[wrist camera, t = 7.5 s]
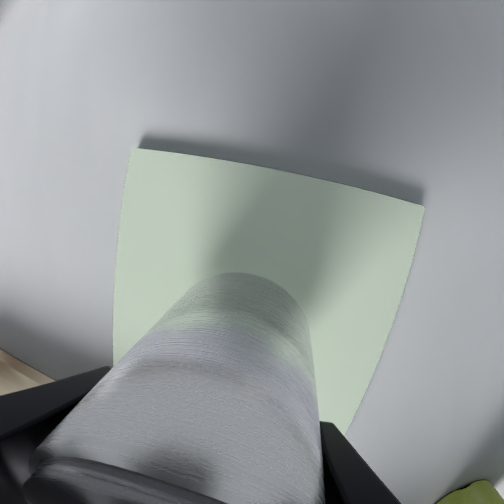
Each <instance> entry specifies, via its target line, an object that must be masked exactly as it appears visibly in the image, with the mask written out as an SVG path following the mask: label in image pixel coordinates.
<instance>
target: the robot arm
mask: <svg viewBox="0 0 504 504" xmlns="http://www.w3.org/2000/svg"><path fill="white" fill-rule="evenodd" d="M111 369H112V367H109V366H105V367H102V368H99V369H95V370H92V371H89V372H85V373H82V374H79V375H75V376H72V377H68V378H65V379H61V380H58V381H54V382H50V383H47V384H43V385H39V386H36V387H32V388H28V389H24V390H20V391H16V392H12V393H8V394H4V395H0V504H27V502H26V500H25V497H24V495H23V485H24V483H25V482H26V480H27V479H28V478H29V477H30V473H29V469H28V461H29V458H30V455H31V454H32V453H33V452H34V451H35V449H36V448H37V447H38V446H39V445H40V444H41V443H42V442H43V441H44V440H45V439H46V438H47V436H48V435H49V434H50V433H51V432H52V431H53V430H54V429H55V428H56V427H57V426H58V425H59V424H60V423H61V421H62V420H63V419H64V418H65V417H66V416H67V415H68V414H69V413H70V412H71V411H72V410H73V409H74V408H75V407H76V406H77V404H78V403H79V402H80V401H81V400H82V399H83V398H84V397H85V396H86V395H87V394H88V393H89V392H90V391H91V390H92V389H93V388H94V387H95V386H96V384H97V383H98V382H99V381H100V380H101V379H102V378H103V377H104V376H105V375H106V374H107V373H108V372H109V371H110V370H111ZM320 433H321V446H322V459H323V474H324V490H325V504H401V503H400V502H399V500H398V499H397V498H396V497H395V496H394V495H393V494H392V492H391V491H390V490H389V489H388V488H387V487H386V486H385V484H384V483H383V482H382V481H381V480H380V479H379V477H378V476H377V475H376V474H375V473H374V472H373V470H372V469H371V468H370V467H369V466H368V464H367V463H366V462H365V461H364V460H363V458H362V457H361V456H360V455H359V454H358V452H357V451H356V450H355V449H354V448H353V446H352V445H351V444H350V443H349V442H348V440H347V439H346V438H345V437H344V435H343V434H342V433H341V432H340V431H339V429H338V428H337V427H336V426H335V424H333V423H332V422H325V421H320Z"/></svg>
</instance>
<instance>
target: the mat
mask: <svg viewBox="0 0 504 504" xmlns="http://www.w3.org/2000/svg"><path fill="white" fill-rule="evenodd" d="M424 211H425V207H424V206H421V205H418V204H414V203H411V202H407V201H404V200H400V199H397V198H393V197H390V196H386V195H383V194H379V193H375V192H371V191H367V190H364V189H360V188H356V187H352V186H348V185H344V184H340V183H335V182H331V181H327V180H322V179H318V178H314V177H309V176H305V175H300V174H295V173H290V172H286V171H281V170H276V169H271V168H265V167H260V166H255V165H249V164H244V163H238V162H232V161H226V160H220V159H214V158H208V157H201V156H194V155H187V154H180V153H173V152H165V151H157V150H148V149H139V148H131V150H130V155H129V161H128V167H127V173H126V179H125V186H124V192H123V200H122V207H121V215H120V224H119V233H118V243H117V254H116V267H115V283H114V306H113V367H114V366H115V365H116V364H117V363H118V362H119V360H120V359H121V358H122V357H123V356H124V355H125V354H126V353H127V352H128V351H129V350H130V349H131V348H132V347H133V346H134V345H135V344H136V343H137V342H138V341H139V340H140V339H141V338H142V337H143V336H144V335H145V334H146V333H147V332H148V331H149V330H150V329H151V328H152V327H153V326H154V324H155V323H156V322H157V321H158V320H159V319H160V318H161V317H162V316H163V315H164V314H165V313H166V312H167V311H168V310H169V309H170V308H171V307H172V306H173V305H174V304H175V303H176V302H177V301H178V300H179V299H180V298H181V297H182V296H183V295H184V294H185V293H186V292H187V291H188V290H189V289H190V288H191V287H193V286H194V285H195V284H197V283H198V282H200V281H202V280H204V279H206V278H208V277H211V276H214V275H218V274H222V273H231V272H237V273H248V274H253V275H257V276H260V277H263V278H266V279H268V280H270V281H272V282H274V283H276V284H277V285H279V286H281V287H282V288H283V289H285V290H286V291H287V292H288V293H289V294H290V295H291V296H292V297H293V298H294V299H295V300H296V301H297V303H298V304H299V305H300V307H301V308H302V310H303V312H304V314H305V316H306V319H307V321H308V325H309V329H310V335H311V344H312V352H313V361H314V370H315V380H316V390H317V400H318V410H319V421H325V422H332V423H333V424H335V426H336V427H337V428H338V429H339V431H340V432H341V433H342V434H343V435H345V434H346V432H347V430H348V428H349V426H350V424H351V422H352V420H353V418H354V415H355V413H356V411H357V409H358V407H359V405H360V403H361V401H362V398H363V396H364V394H365V392H366V390H367V387H368V385H369V383H370V380H371V378H372V376H373V373H374V371H375V369H376V366H377V364H378V361H379V359H380V356H381V354H382V351H383V348H384V346H385V343H386V341H387V338H388V335H389V332H390V330H391V327H392V324H393V321H394V318H395V315H396V313H397V310H398V307H399V303H400V300H401V297H402V294H403V291H404V288H405V284H406V281H407V278H408V274H409V271H410V267H411V264H412V260H413V256H414V253H415V249H416V245H417V241H418V237H419V233H420V228H421V224H422V220H423V215H424Z"/></svg>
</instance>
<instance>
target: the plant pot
mask: <svg viewBox="0 0 504 504" xmlns="http://www.w3.org/2000/svg"><path fill="white" fill-rule="evenodd" d="M436 504H504V500H503V498H502V497H501V496H500V494H499V493H498V492H497V490H496V489H495V488H494V487H493V485H492V484H491V483H490V482H489V481H487V480H481V481H476V482H473V483H472V484H471V485H470V486H468V487H467V488H465V489H461V490H455V491H453V492H452V493H450V494H448V495H447V496H445V497H444V498H443V499H441V500H440V501H439V502H437V503H436Z"/></svg>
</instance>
